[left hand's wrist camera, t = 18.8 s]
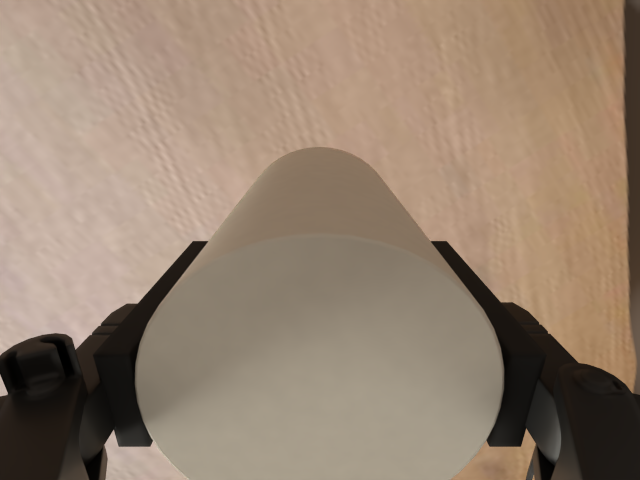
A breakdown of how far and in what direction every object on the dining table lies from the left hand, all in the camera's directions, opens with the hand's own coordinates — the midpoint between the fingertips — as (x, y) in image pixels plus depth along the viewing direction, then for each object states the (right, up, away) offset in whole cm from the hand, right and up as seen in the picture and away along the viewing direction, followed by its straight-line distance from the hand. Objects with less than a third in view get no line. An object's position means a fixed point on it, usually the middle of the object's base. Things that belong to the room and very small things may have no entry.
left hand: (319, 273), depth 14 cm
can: (0, +2, +6) cm, 6 cm away
